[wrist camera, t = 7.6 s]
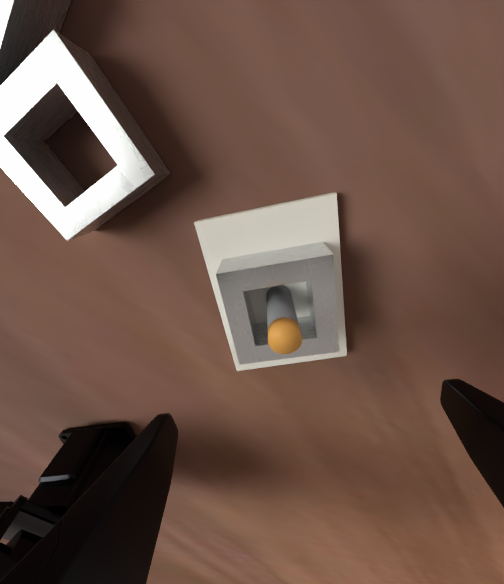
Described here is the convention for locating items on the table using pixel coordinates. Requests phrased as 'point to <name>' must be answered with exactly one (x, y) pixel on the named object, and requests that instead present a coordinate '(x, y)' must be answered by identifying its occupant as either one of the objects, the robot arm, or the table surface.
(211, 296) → the table surface
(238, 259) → the end link
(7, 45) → the grey square frame
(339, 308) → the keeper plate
